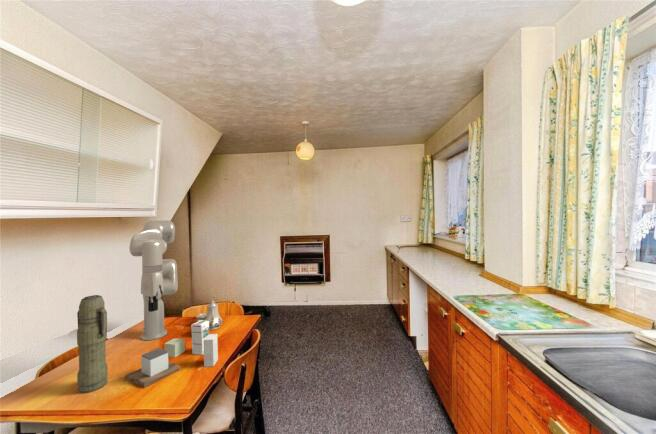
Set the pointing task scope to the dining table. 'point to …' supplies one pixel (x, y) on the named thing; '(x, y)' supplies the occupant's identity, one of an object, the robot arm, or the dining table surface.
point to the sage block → (175, 347)
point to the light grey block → (154, 362)
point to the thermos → (92, 344)
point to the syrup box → (199, 336)
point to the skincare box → (210, 350)
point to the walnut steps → (147, 380)
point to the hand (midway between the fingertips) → (153, 310)
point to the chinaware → (211, 316)
